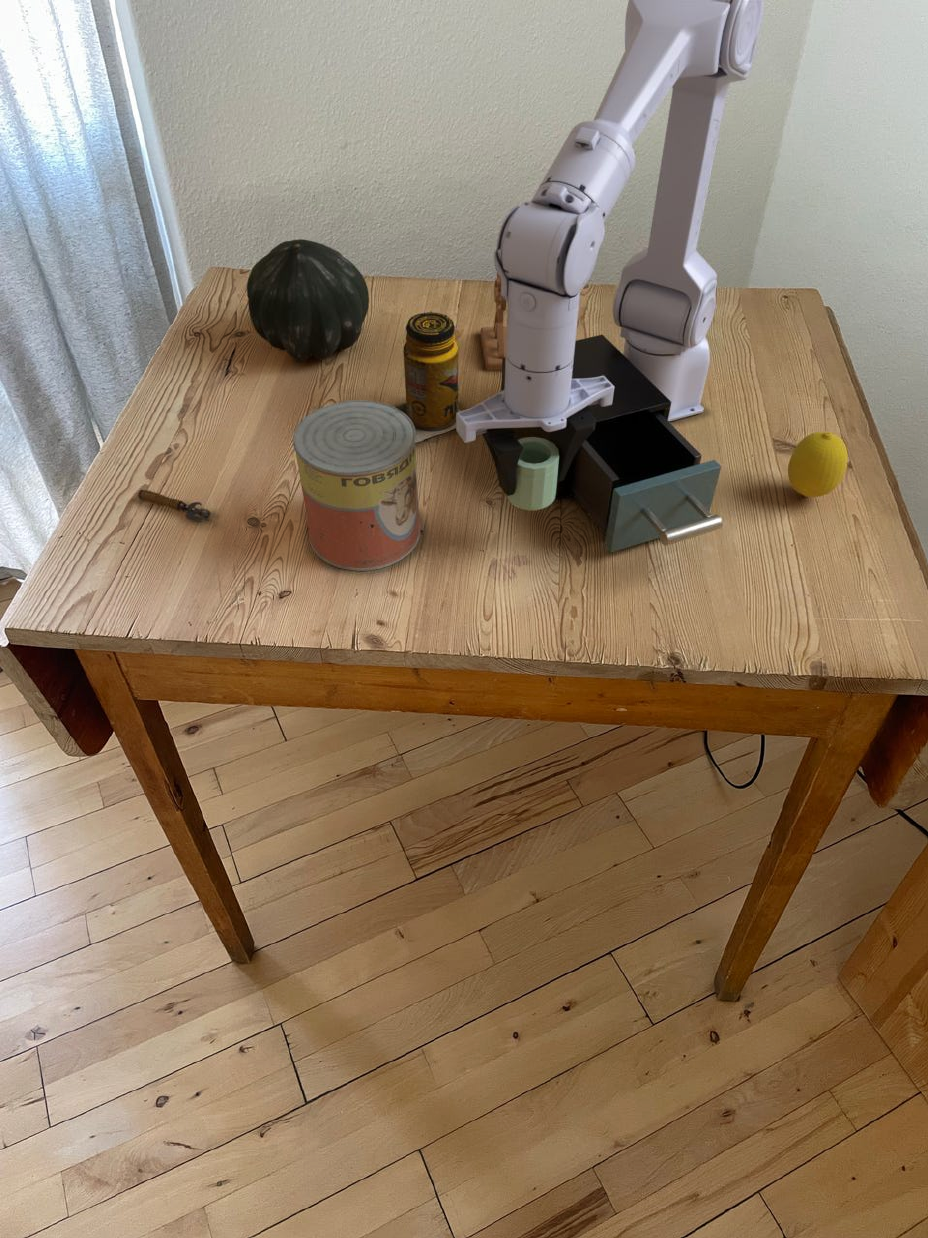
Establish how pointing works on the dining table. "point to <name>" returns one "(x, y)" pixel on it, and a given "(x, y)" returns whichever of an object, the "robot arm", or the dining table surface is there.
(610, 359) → the cabinet
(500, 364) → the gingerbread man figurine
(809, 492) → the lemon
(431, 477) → the dining table surface
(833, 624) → the dining table surface
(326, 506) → the canned food
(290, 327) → the squash
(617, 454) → the drawer
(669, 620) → the dining table surface
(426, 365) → the condiment
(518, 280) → the robot arm
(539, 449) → the jar
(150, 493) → the can opener
